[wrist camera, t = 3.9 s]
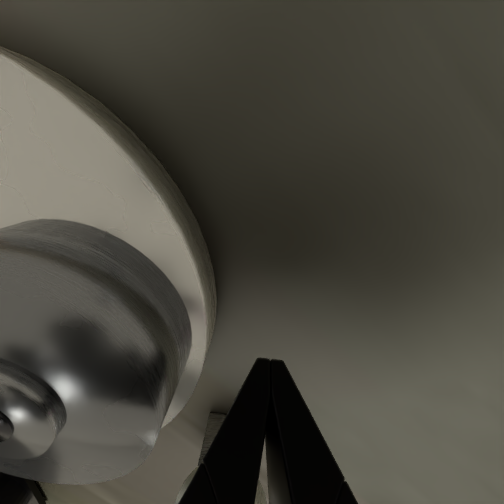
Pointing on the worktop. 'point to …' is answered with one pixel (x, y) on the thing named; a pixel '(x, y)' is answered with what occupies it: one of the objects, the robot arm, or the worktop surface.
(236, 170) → the worktop surface
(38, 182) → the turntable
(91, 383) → the cover
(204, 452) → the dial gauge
